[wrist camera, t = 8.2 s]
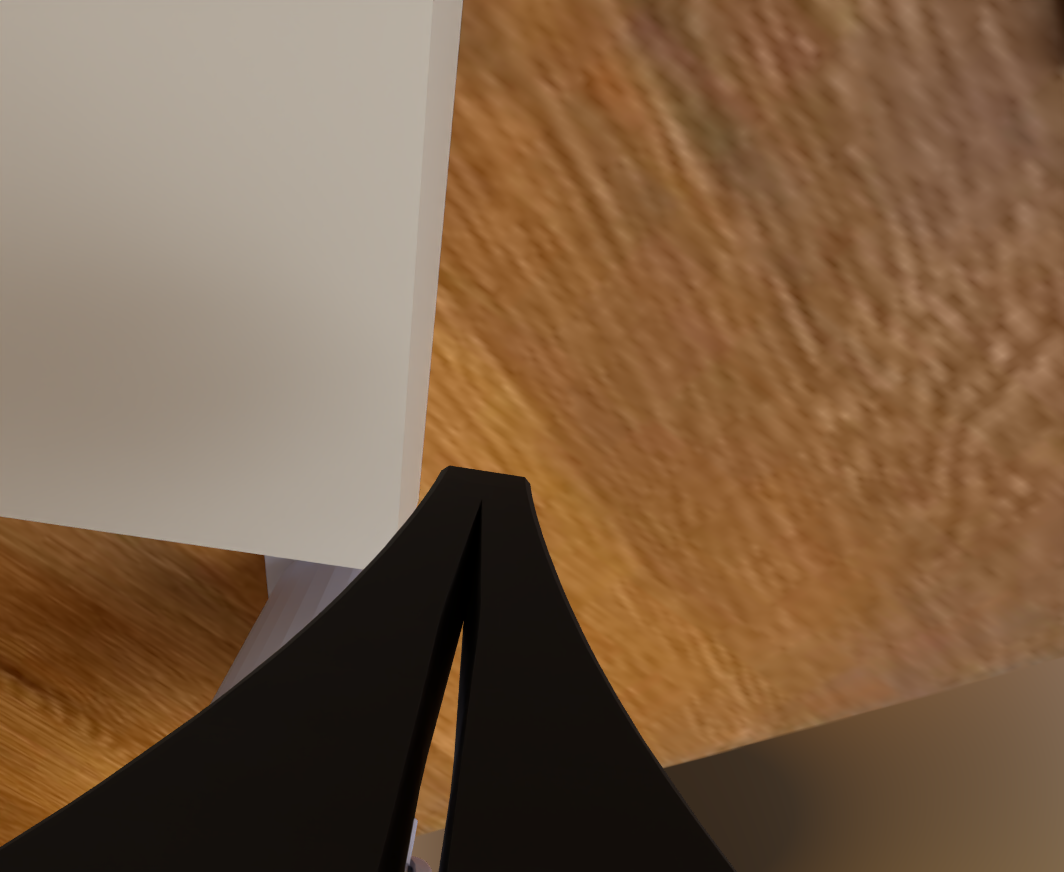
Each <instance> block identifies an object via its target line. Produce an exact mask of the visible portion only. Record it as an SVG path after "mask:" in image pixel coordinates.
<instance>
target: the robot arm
mask: <svg viewBox="0 0 1064 872" xmlns="http://www.w3.org/2000/svg"><path fill="white" fill-rule="evenodd" d="M264 557H265V567H266V578H267V588H268V598H269V599H268V600H267V602H266V604H265V606H264V608H263V609H262V611H261V613H260V615H259V617H258V619H257V620H256V622H255V624H254V626H253V628H252V629H251V631H250V633H249V635H248V637H247V638H246V640H245V642H244V644H243V646H242V648H241V649H240V651H239V653H238V655H237V657H236V658H235V660H234V662H233V664H232V666H231V667H230V669H229V671H228V673H227V675H226V677H225V678H224V680H223V682H222V684H221V686H220V687H219V689H218V691H217V693H216V695H215V696H214V698H213V700H212V702H211V704H210V705H209V706H208V707H206V708H205V709H204V710H202V711H201V712H200V713H198V714H197V715H196V716H194V717H193V718H191V719H190V720H189V721H187V722H186V723H184V724H183V725H182V726H180V727H179V728H177V729H176V730H174V731H173V732H172V733H170V734H169V735H167V736H166V737H165V738H163V739H162V740H160V741H159V742H157V743H156V744H155V745H153V746H152V747H150V748H149V749H148V750H146V751H145V752H143V753H142V754H140V755H139V756H138V757H136V758H135V759H133V760H132V761H131V762H129V763H128V764H126V765H125V766H123V767H122V768H121V769H119V770H118V771H116V772H115V773H114V774H112V775H111V776H109V777H108V778H106V779H105V780H104V781H102V782H101V783H99V784H98V785H96V786H95V787H93V788H92V789H90V790H89V791H87V792H86V793H84V794H83V795H81V796H80V797H78V798H77V799H75V800H74V801H72V802H71V803H69V804H68V805H66V806H65V807H63V808H61V809H60V810H58V811H57V812H55V813H54V814H52V815H50V816H49V817H47V818H46V819H44V820H42V821H41V822H39V823H38V824H36V825H35V826H33V827H31V828H30V829H28V830H27V831H25V832H23V833H22V834H20V835H19V836H17V837H16V838H14V839H12V840H11V841H9V842H8V843H6V844H4V845H3V846H1V847H0V872H432V871H431V868H430V867H429V865H428V863H427V862H426V861H424V860H423V859H421V858H418V857H414V856H411V855H412V849H413V843H414V838H415V833H416V827H417V822H418V821H417V819H416V818H414V817H415V812H416V806H417V801H418V796H419V790H420V786H421V781H422V777H423V773H424V768H425V764H426V760H427V755H428V752H429V748H430V744H431V740H432V737H433V733H434V729H435V726H436V722H437V718H438V714H439V711H440V707H441V703H442V700H443V696H444V692H445V688H446V685H447V681H448V677H449V674H450V670H451V666H452V662H453V659H454V655H455V651H456V647H457V644H458V640H459V636H460V632H461V629H462V625H463V638H462V652H461V666H460V681H459V695H458V710H457V724H456V739H455V753H454V765H453V774H452V784H451V793H450V800H449V806H448V813H447V820H446V826H445V834H444V840H443V847H442V853H441V860H440V867H439V872H736V870H735V869H734V867H733V866H732V865H731V863H730V862H729V861H728V859H727V858H726V857H725V855H724V854H723V853H722V851H721V850H720V849H719V847H718V846H717V845H716V843H715V842H714V841H713V839H712V838H711V837H710V835H709V834H708V833H707V831H706V830H705V829H704V827H703V826H702V825H701V823H700V822H699V821H698V819H697V818H696V816H695V815H694V813H693V812H692V810H691V809H690V807H689V806H688V804H687V803H686V801H685V800H684V798H683V797H682V795H681V794H680V793H679V791H678V790H677V788H676V787H675V785H674V784H673V782H672V781H671V779H670V778H669V777H668V775H667V773H666V772H665V771H664V769H663V768H662V766H661V765H660V763H659V762H658V760H657V759H656V757H655V756H654V754H653V753H652V751H651V750H650V749H649V747H648V746H647V744H646V743H645V741H644V740H643V738H642V736H641V735H640V733H639V732H638V730H637V728H636V727H635V725H634V723H633V722H632V720H631V718H630V717H629V715H628V713H627V712H626V710H625V708H624V707H623V705H622V704H621V702H620V700H619V699H618V697H617V695H616V693H615V692H614V690H613V688H612V686H611V684H610V683H609V681H608V679H607V677H606V676H605V674H604V672H603V670H602V668H601V667H600V665H599V663H598V661H597V659H596V657H595V655H594V653H593V652H592V650H591V648H590V646H589V644H588V642H587V640H586V638H585V636H584V634H583V632H582V630H581V627H580V625H579V623H578V621H577V619H576V617H575V615H574V612H573V610H572V608H571V606H570V604H569V602H568V599H567V597H566V595H565V592H564V590H563V588H562V585H561V583H560V580H559V578H558V575H557V573H556V570H555V567H554V565H553V562H552V560H551V557H550V555H549V552H548V549H547V546H546V543H545V541H544V538H543V535H542V531H541V528H540V525H539V522H538V518H537V515H536V511H535V507H534V503H533V498H532V493H531V486H530V483H529V482H528V481H527V479H526V478H525V477H520V476H514V475H507V474H501V473H494V472H488V471H481V470H475V469H468V468H462V467H455V466H448V467H446V468H445V469H443V470H441V472H440V474H439V476H438V478H437V479H436V481H435V482H434V484H433V486H432V487H431V489H430V490H429V492H428V493H427V494H426V496H425V497H424V499H423V500H422V501H421V503H420V504H419V505H418V507H417V508H416V509H415V510H414V512H413V513H412V514H411V516H410V517H409V518H408V519H407V521H406V522H405V523H404V524H403V525H402V527H401V528H400V529H399V530H398V531H397V533H396V534H395V535H394V536H393V537H392V538H391V540H390V541H389V542H388V543H387V544H386V546H385V547H384V548H383V549H382V550H381V551H380V552H379V554H378V555H377V556H376V557H375V558H374V559H373V560H372V561H371V562H370V563H369V564H368V565H367V566H366V567H365V568H364V569H356V568H349V567H342V566H335V565H328V564H322V563H315V562H308V561H301V560H294V559H287V558H281V557H274V556H267V555H264ZM463 621H464V623H463Z"/></svg>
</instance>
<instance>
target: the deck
mask: <svg viewBox="0 0 1064 872" xmlns="http://www.w3.org/2000/svg"><path fill="white" fill-rule="evenodd" d="M462 5H463V0H0V516H1V517H8V518H15V519H21V520H28V521H35V522H42V523H49V524H55V525H62V526H69V527H76V528H83V529H90V530H96V531H103V532H110V533H117V534H124V535H131V536H137V537H144V538H151V539H158V540H165V541H171V542H178V543H185V544H192V545H199V546H206V547H212V548H219V549H226V550H233V551H240V552H247V553H253V554H260V555H267V556H274V557H281V558H287V559H294V560H301V561H308V562H315V563H322V564H328V565H335V566H342V567H349V568H356V569H364V568H365V567H366V566H367V565H368V564H369V563H370V562H371V561H372V560H373V559H374V558H375V557H376V556H377V555H378V554H379V552H380V551H381V550H382V549H383V548H384V547H385V546H386V544H387V543H388V542H389V541H390V540H391V538H392V537H393V536H394V535H395V534H396V533H397V531H398V530H399V529H400V528H401V527H402V525H403V524H404V523H405V522H406V521H407V519H408V518H409V517H410V516H411V514H412V513H413V512H414V510H415V509H416V506H417V503H418V499H419V488H420V477H421V465H422V454H423V443H424V432H425V420H426V409H427V398H428V387H429V375H430V364H431V353H432V342H433V331H434V319H435V308H436V297H437V286H438V274H439V263H440V252H441V241H442V229H443V218H444V207H445V196H446V185H447V173H448V162H449V151H450V140H451V128H452V117H453V106H454V95H455V83H456V72H457V61H458V50H459V38H460V27H461V16H462Z"/></svg>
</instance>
